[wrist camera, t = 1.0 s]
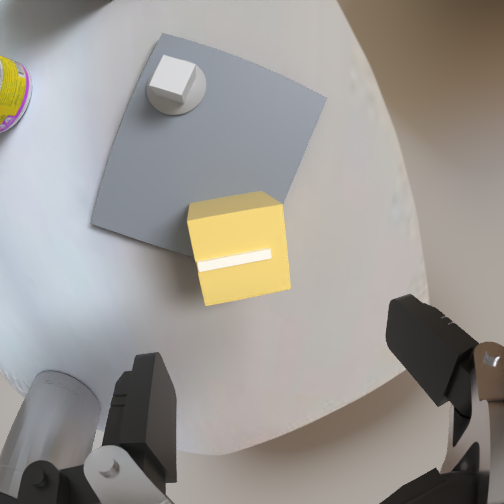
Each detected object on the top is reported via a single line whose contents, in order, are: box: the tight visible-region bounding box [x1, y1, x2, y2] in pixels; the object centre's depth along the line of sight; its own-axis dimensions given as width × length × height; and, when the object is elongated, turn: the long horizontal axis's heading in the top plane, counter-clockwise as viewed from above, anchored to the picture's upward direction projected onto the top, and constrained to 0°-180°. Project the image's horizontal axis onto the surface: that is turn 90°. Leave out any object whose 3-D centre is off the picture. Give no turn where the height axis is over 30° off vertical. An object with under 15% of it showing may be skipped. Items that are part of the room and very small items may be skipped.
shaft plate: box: [91, 33, 327, 258], centre depth 20 cm, size 16×14×5 cm
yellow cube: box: [187, 191, 291, 306], centre depth 21 cm, size 6×6×6 cm
